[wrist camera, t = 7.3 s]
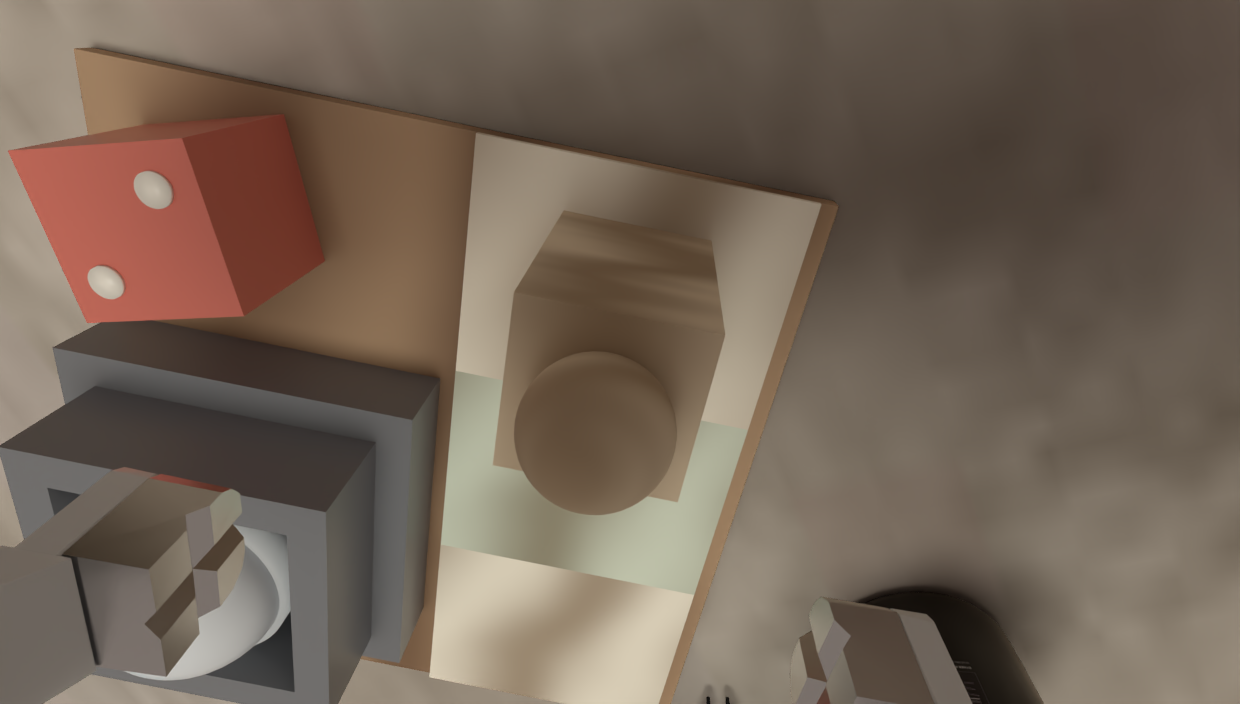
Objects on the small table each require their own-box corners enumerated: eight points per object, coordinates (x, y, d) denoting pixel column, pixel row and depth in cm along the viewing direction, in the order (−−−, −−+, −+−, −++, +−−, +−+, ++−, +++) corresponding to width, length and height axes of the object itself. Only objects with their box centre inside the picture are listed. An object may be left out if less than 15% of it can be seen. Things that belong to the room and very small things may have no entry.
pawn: (711, 240, 18) (735, 403, 10) (678, 370, 20) (676, 592, 12) (563, 210, 18) (477, 352, 10) (543, 343, 20) (457, 548, 12)
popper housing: (446, 369, 21) (367, 488, 16) (428, 595, 26) (362, 748, 20) (132, 306, 21) (-55, 403, 16) (169, 544, 26) (34, 684, 20)
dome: (326, 473, 19) (226, 601, 15) (328, 601, 22) (242, 743, 18) (148, 438, 19) (-2, 557, 15) (169, 569, 22) (44, 705, 17)
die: (283, 113, 17) (178, 138, 14) (325, 260, 19) (241, 318, 16) (142, 124, 18) (3, 151, 14) (195, 267, 20) (83, 324, 16)
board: (834, 201, 18) (840, 208, 17) (665, 705, 27) (665, 723, 27) (92, 47, 18) (67, 48, 17) (179, 609, 27) (166, 625, 26)
